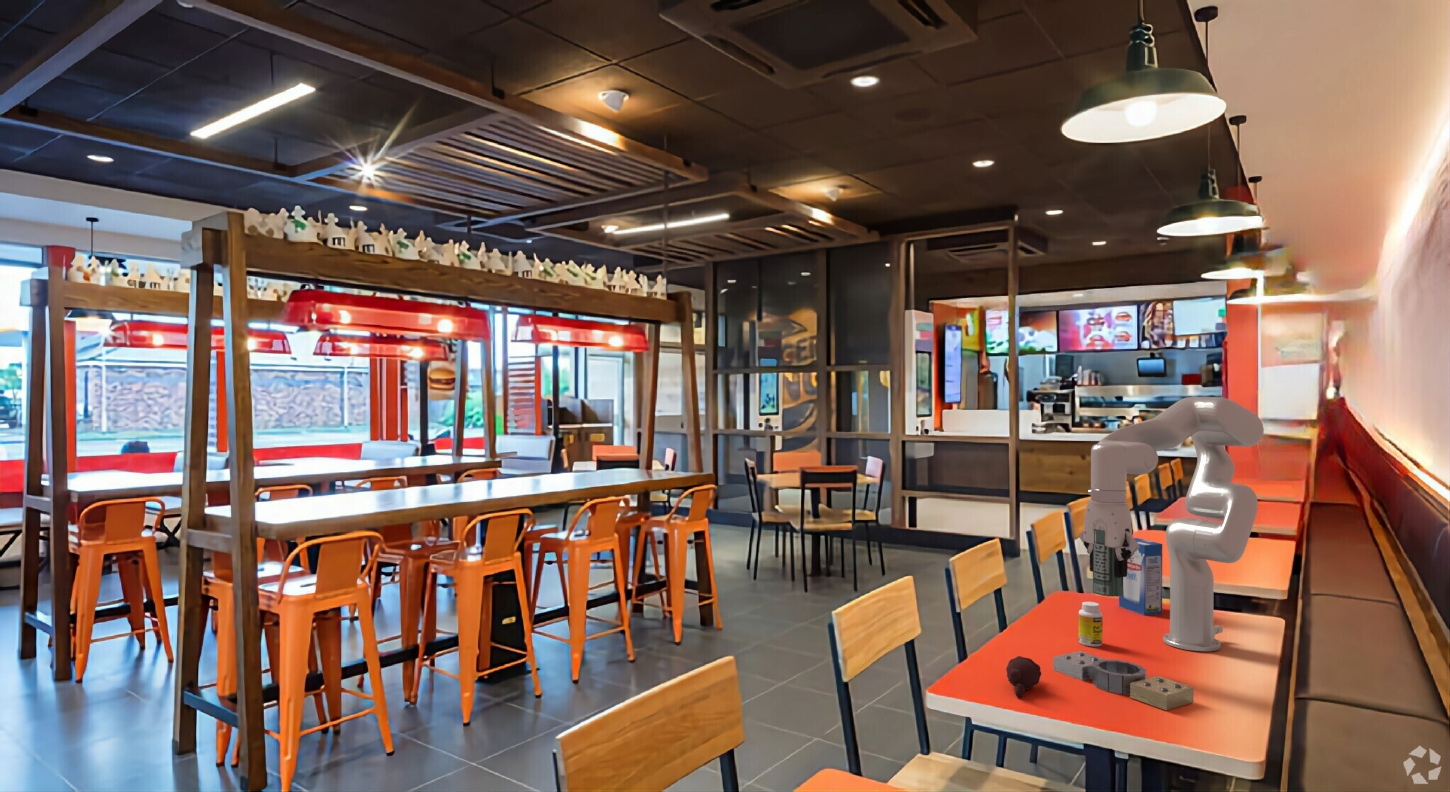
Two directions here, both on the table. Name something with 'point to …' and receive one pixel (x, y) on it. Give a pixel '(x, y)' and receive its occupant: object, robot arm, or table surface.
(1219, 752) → the table surface
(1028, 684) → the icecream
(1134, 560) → the milk carton
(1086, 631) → the supplement bottle
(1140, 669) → the leaf fixed
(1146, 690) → the tan studded block
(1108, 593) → the can
